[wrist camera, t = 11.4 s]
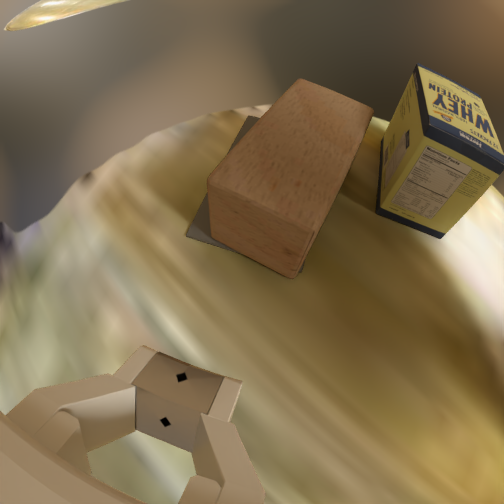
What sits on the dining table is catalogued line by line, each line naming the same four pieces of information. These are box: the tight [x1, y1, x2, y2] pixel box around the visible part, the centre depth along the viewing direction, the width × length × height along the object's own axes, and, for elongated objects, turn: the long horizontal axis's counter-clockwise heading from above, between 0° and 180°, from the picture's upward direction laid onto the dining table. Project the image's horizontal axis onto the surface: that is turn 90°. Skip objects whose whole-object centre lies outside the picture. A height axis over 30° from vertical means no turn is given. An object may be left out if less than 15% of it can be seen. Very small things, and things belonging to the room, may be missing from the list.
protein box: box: [376, 63, 504, 239], centre depth 34 cm, size 10×16×16 cm
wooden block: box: [207, 79, 374, 279], centre depth 33 cm, size 10×10×20 cm
